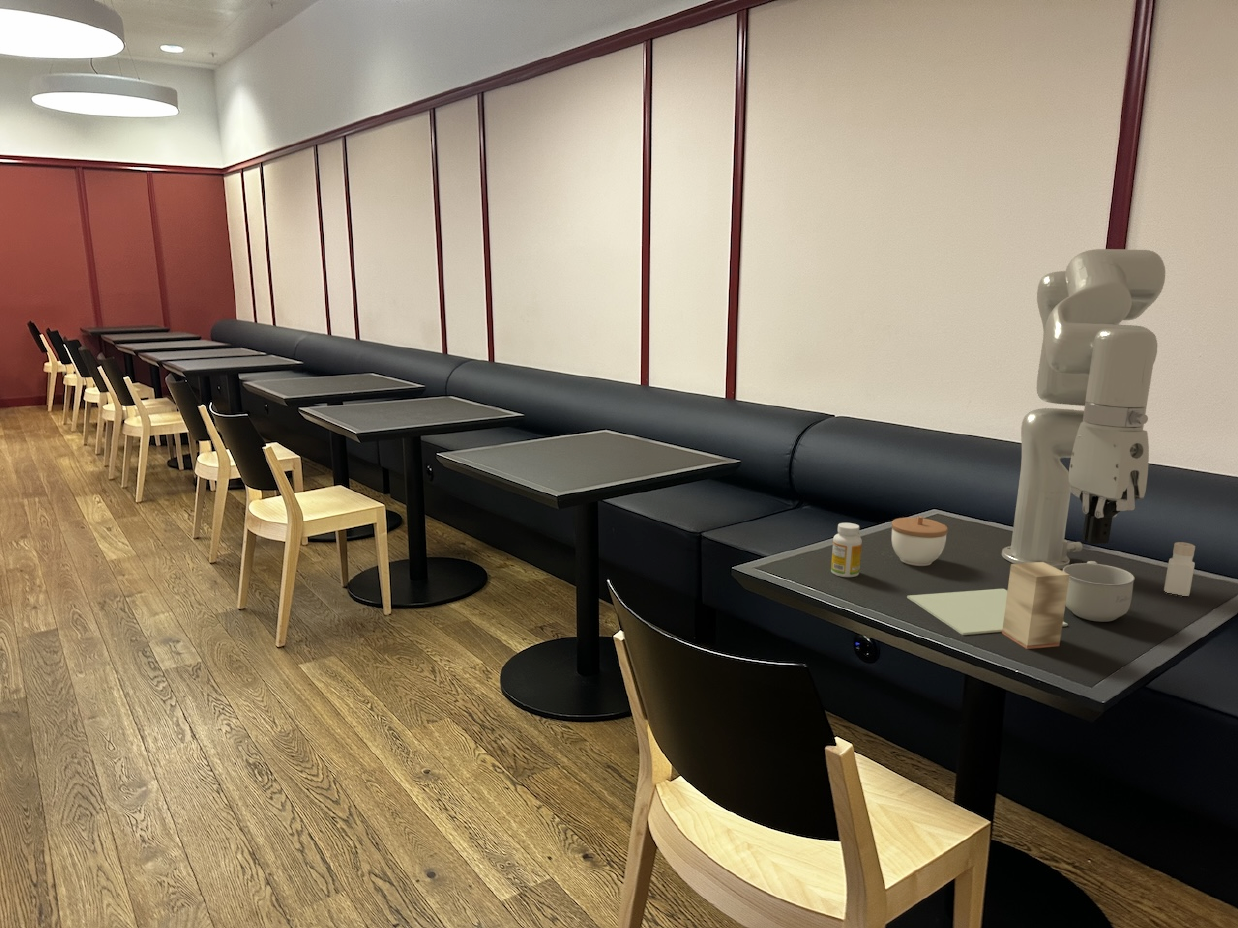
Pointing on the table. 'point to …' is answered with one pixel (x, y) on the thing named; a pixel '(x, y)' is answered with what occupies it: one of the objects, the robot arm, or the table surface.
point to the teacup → (1098, 591)
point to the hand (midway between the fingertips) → (1095, 541)
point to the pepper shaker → (1180, 569)
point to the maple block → (1035, 604)
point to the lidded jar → (918, 540)
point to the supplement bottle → (846, 551)
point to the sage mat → (967, 609)
